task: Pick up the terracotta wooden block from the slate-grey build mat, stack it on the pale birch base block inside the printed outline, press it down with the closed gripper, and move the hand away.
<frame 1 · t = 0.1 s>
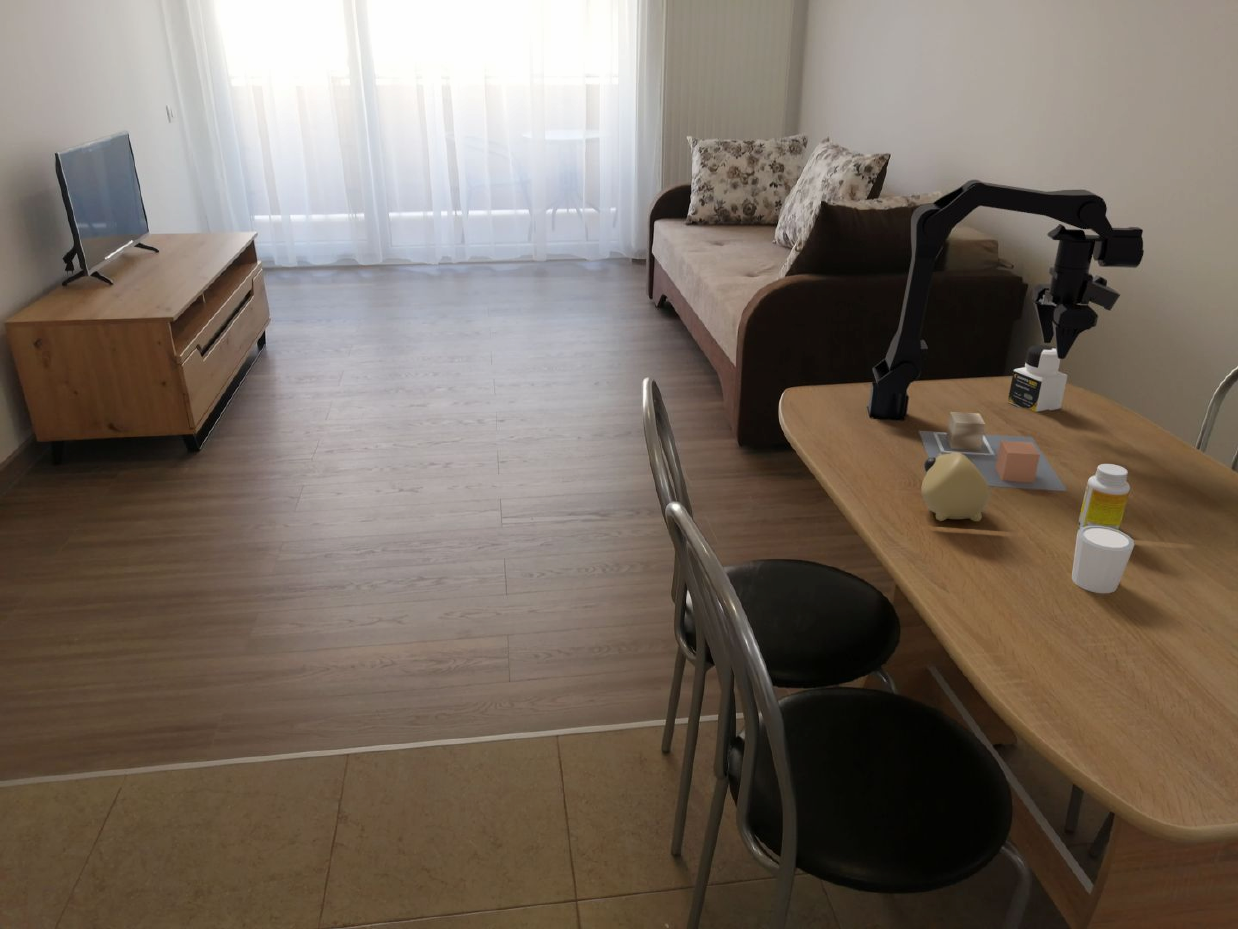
hand: (1053, 350, 171), 15 cm above the table, tool pointing down, fingers open, 9 cm apart
top block: (1014, 474, 156), point 1 cm above the table, touching build mat
white cylinder: (1093, 583, 127), on the table
medicine bottle: (1033, 406, 186), on the table
toy pig: (949, 516, 144), on the table
supplement bottle: (1096, 532, 140), on the table
build mat: (987, 461, 162), on the table
base block: (963, 443, 167), resting on build mat
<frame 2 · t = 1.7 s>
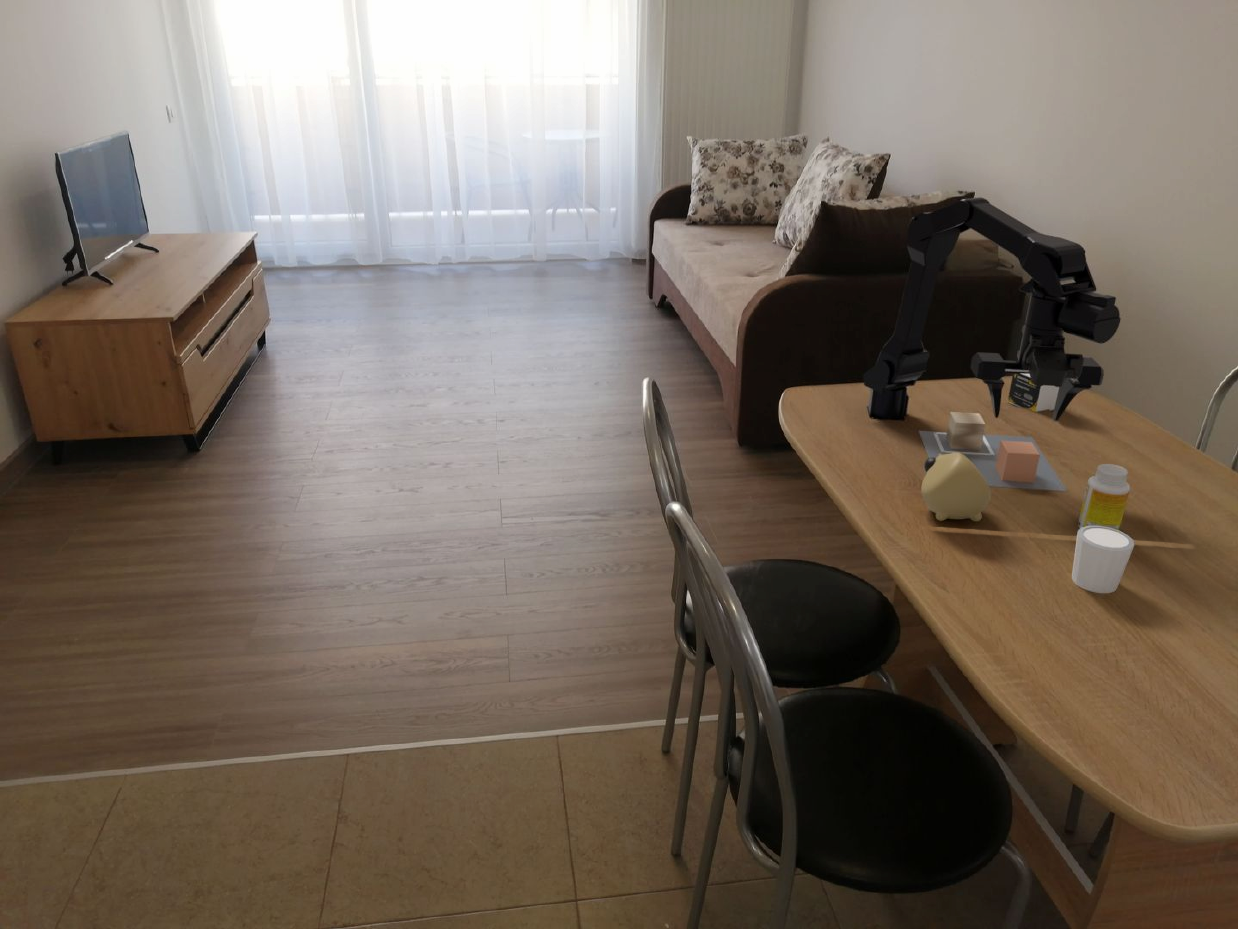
hand: (1025, 418, 152), 11 cm above the table, tool pointing down, fingers open, 9 cm apart
nothing on the table moved.
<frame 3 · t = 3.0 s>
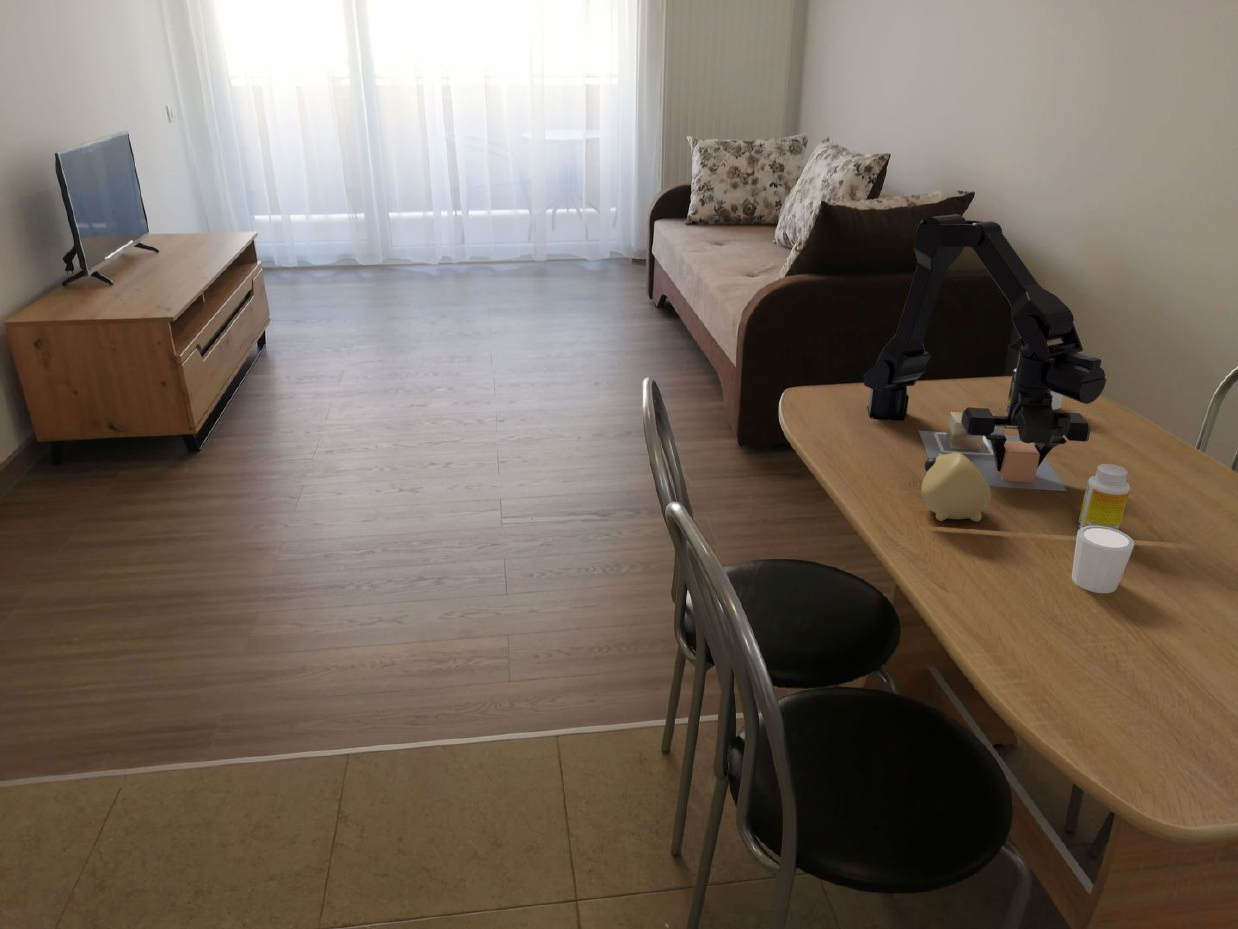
hand: (1015, 471, 155), 1 cm above the table, tool pointing down, fingers closed on top block, 5 cm apart
top block: (1014, 474, 156), point 1 cm above the table, touching build mat, gripper
everything else where it was.
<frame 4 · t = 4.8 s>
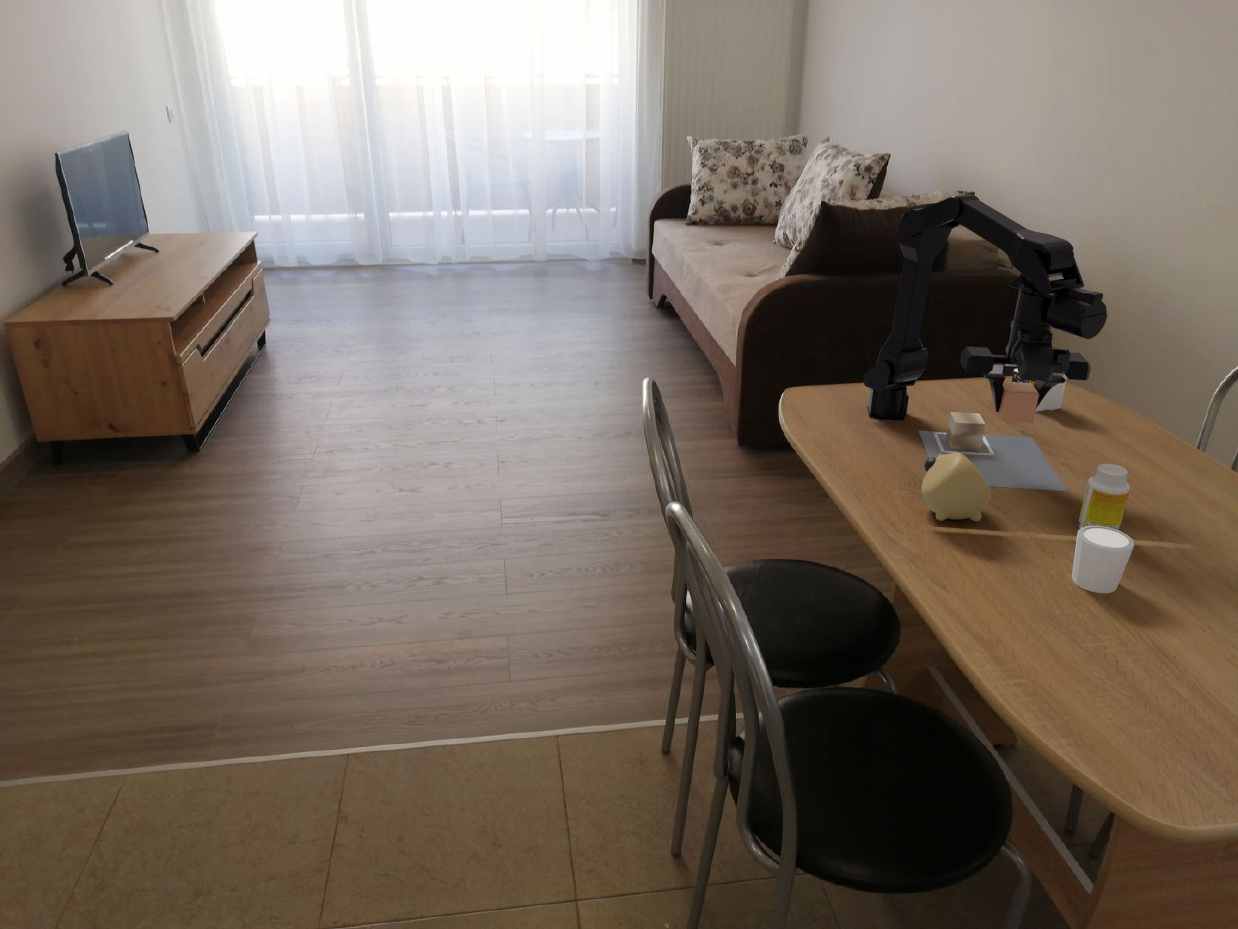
hand: (1013, 412, 154), 11 cm above the table, tool pointing down, fingers closed on top block, 5 cm apart
top block: (1012, 415, 154), point 10 cm above the table, touching gripper
everything else where it was.
when the fingers open (8 cm above the table, at t = 6.4 s): top block drops 1 cm, resting on base block.
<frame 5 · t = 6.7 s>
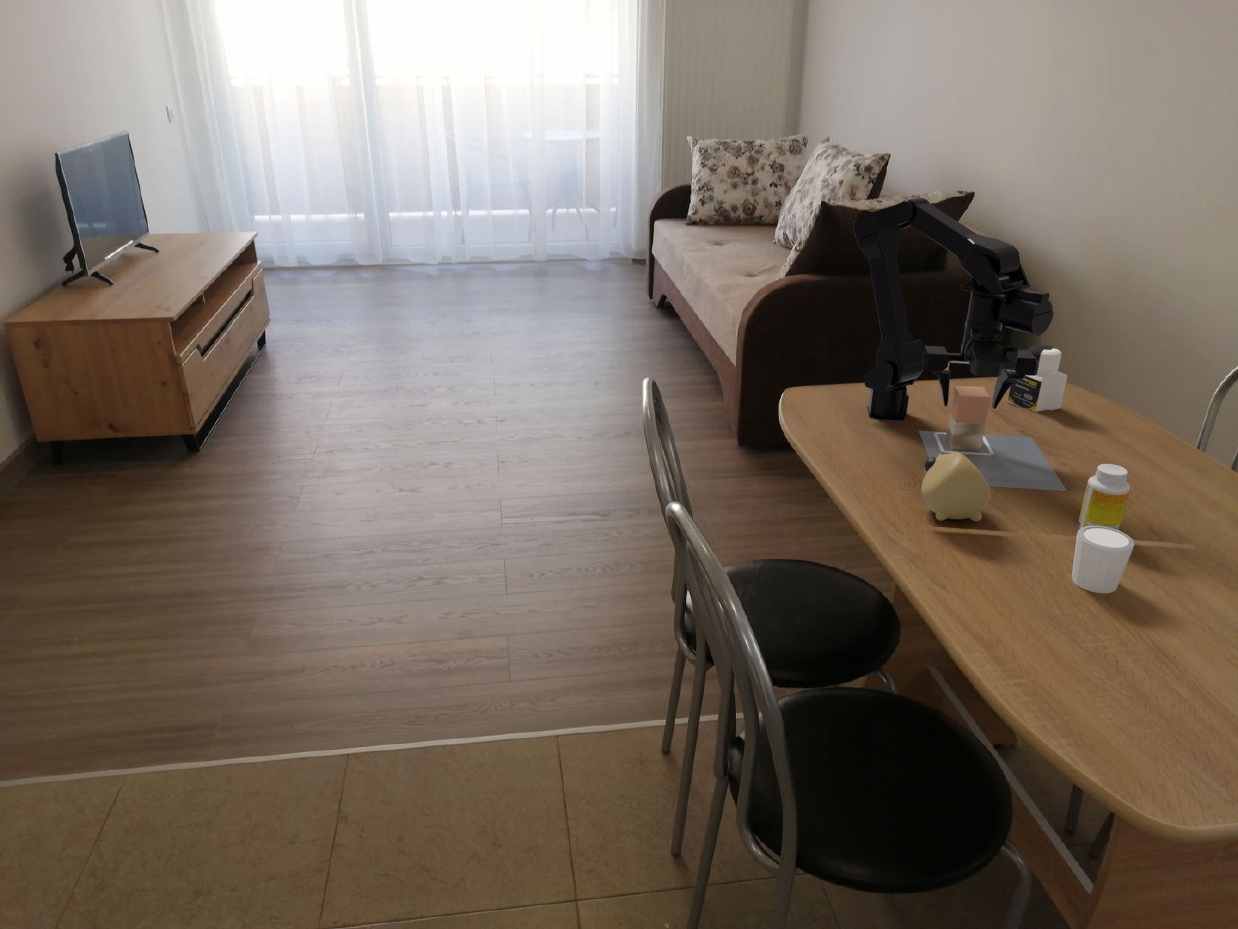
hand: (969, 406, 164), 8 cm above the table, tool pointing down, fingers open, 8 cm apart
top block: (967, 417, 165), point 6 cm above the table, touching base block
everything else where it was.
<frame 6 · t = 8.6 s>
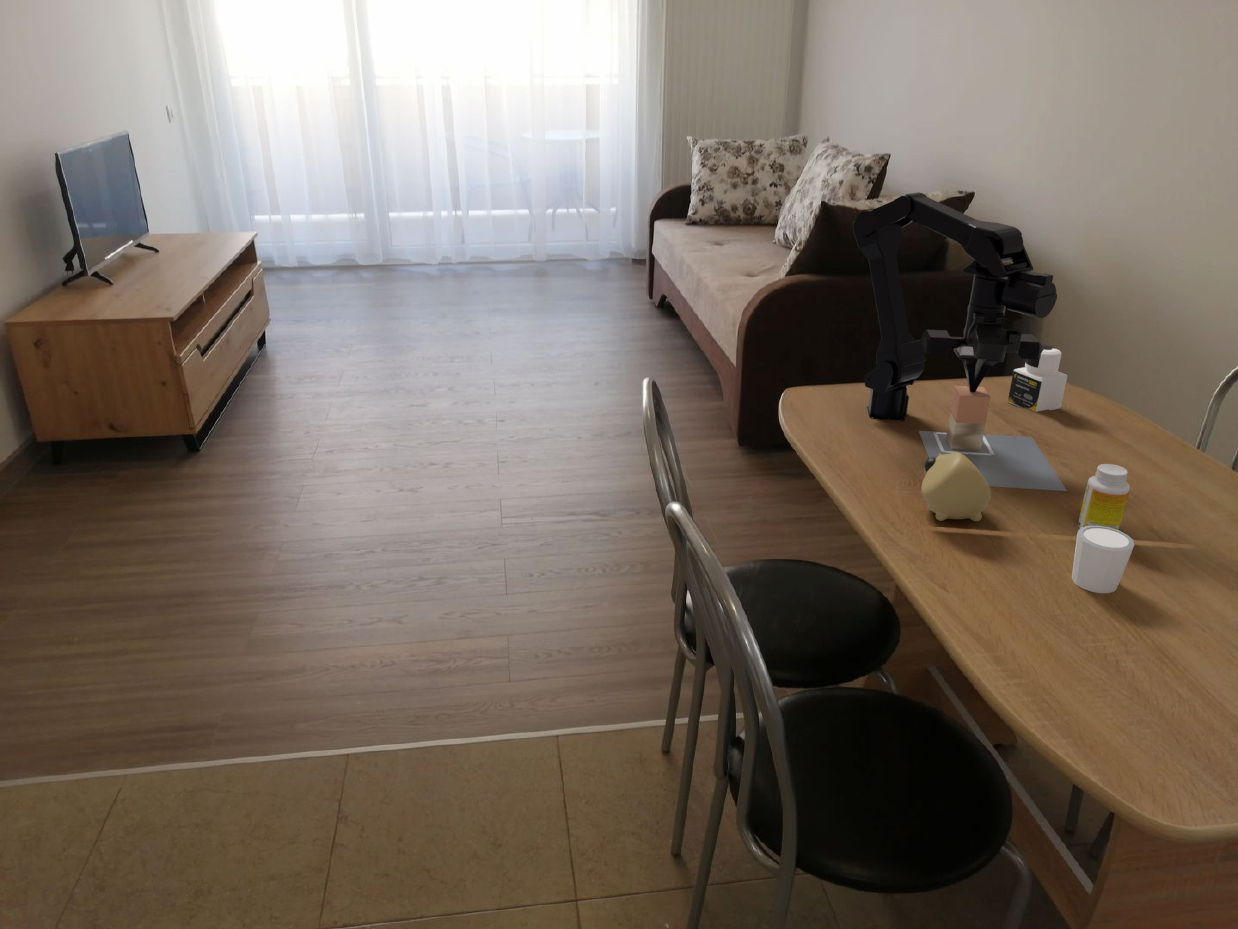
hand: (971, 391, 163), 11 cm above the table, tool pointing down, fingers closed, pressing on top block
top block: (967, 417, 165), point 6 cm above the table, touching base block, gripper
everything else where it was.
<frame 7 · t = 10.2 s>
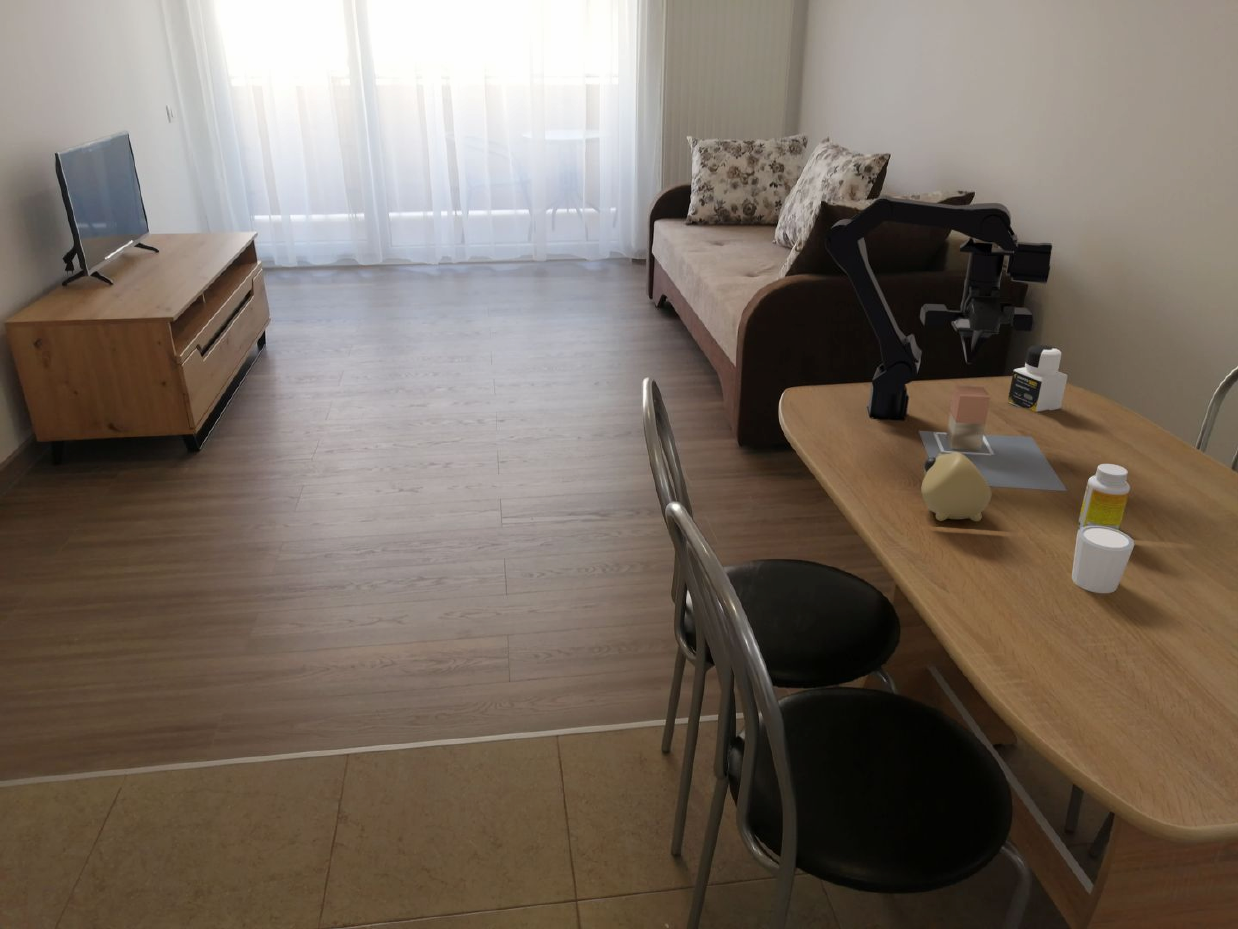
hand: (968, 362, 171), 12 cm above the table, tool pointing down, fingers closed
top block: (967, 417, 165), point 6 cm above the table, touching base block
everything else where it was.
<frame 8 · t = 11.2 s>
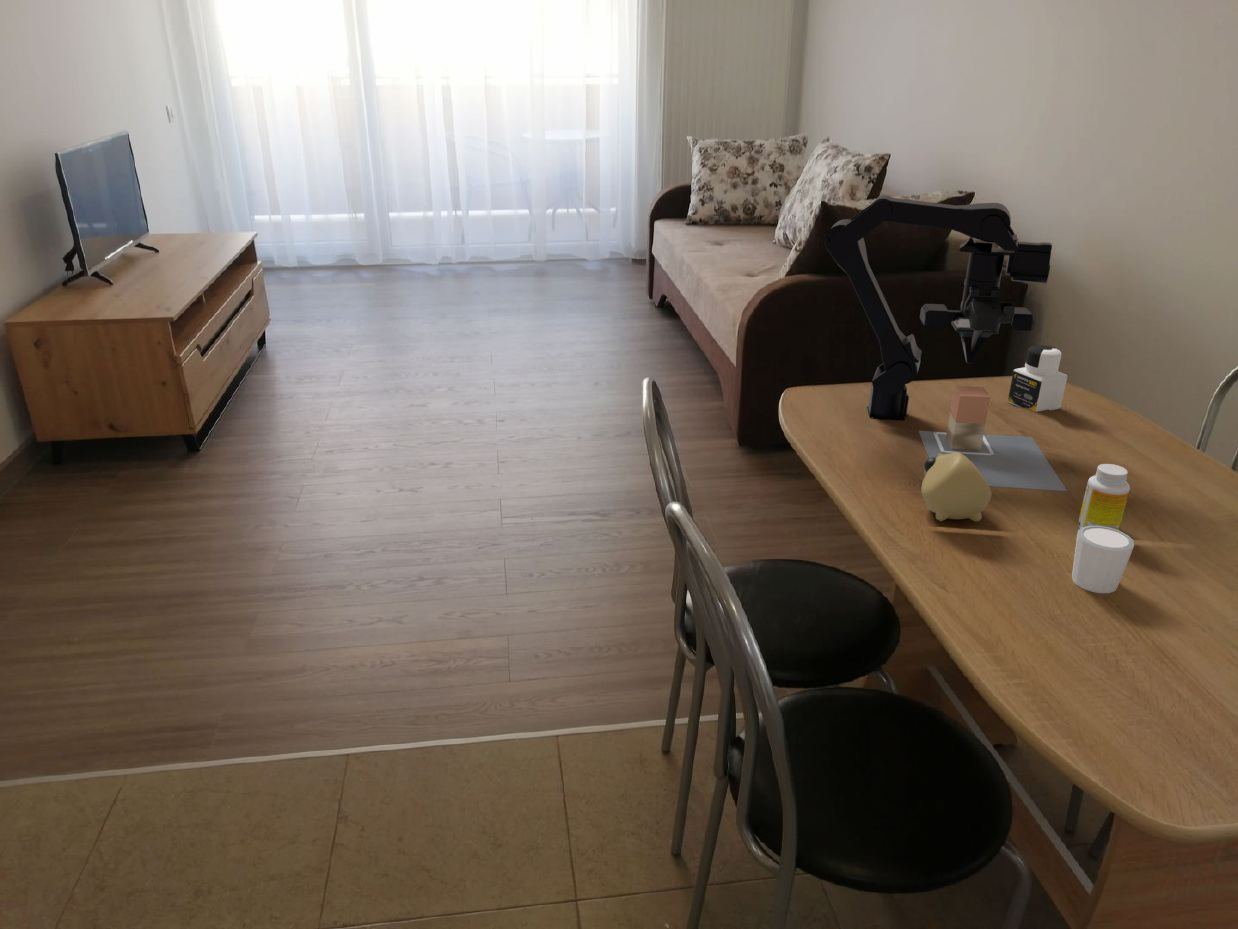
hand: (968, 362, 171), 13 cm above the table, tool pointing down, fingers closed
nothing on the table moved.
at the end: top block 0.0 cm off-centre on the base block, point 5.0 cm above the base block's base; top block tilted 0°; the gripper is holding nothing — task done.
